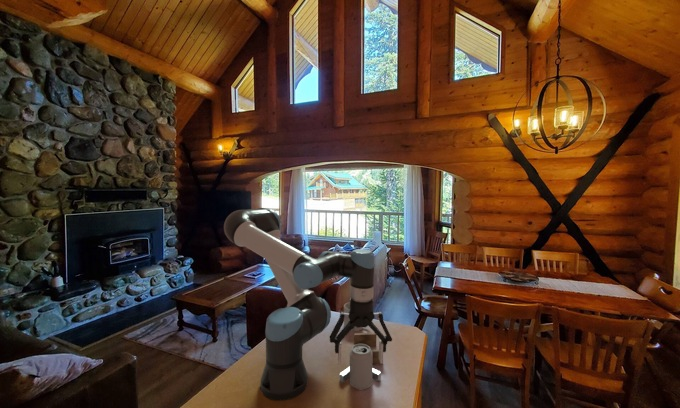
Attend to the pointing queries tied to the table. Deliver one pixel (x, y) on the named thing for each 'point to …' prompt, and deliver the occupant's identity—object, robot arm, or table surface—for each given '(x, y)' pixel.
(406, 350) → the table surface
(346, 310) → the mug
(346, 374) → the v block
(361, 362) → the can
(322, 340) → the table surface
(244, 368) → the table surface
